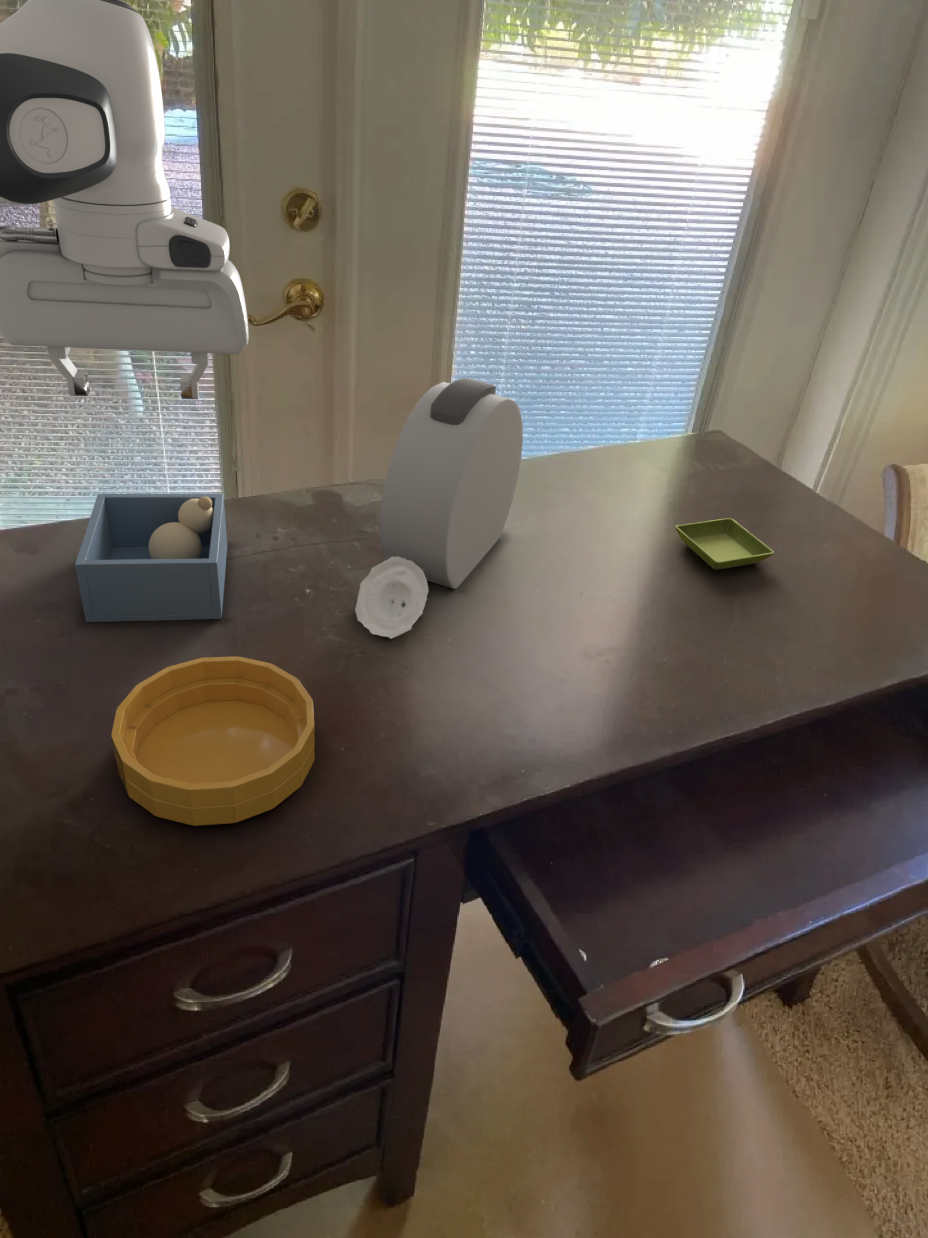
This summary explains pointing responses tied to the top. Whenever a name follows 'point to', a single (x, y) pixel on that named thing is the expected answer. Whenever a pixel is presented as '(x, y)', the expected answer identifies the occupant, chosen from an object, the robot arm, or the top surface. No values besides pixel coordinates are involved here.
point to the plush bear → (183, 532)
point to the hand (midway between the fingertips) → (135, 395)
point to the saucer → (723, 543)
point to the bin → (148, 562)
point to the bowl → (214, 740)
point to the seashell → (392, 597)
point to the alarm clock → (452, 479)
